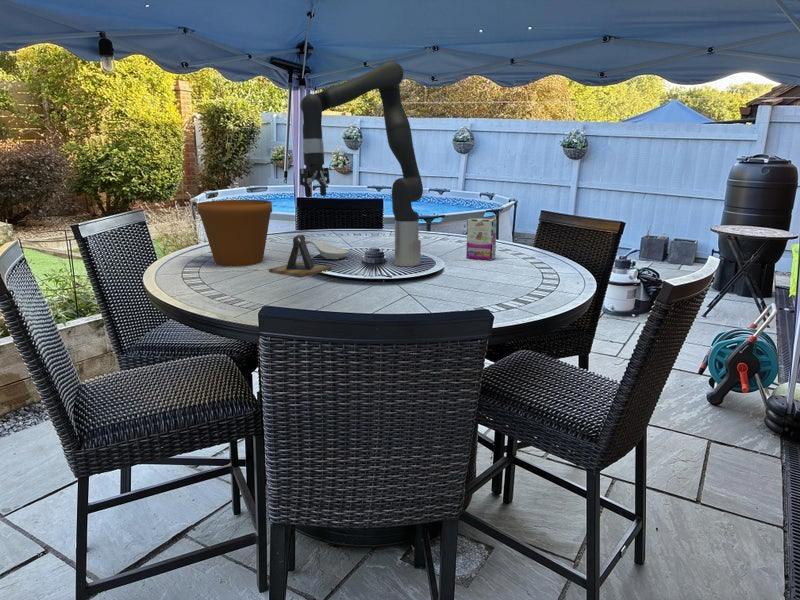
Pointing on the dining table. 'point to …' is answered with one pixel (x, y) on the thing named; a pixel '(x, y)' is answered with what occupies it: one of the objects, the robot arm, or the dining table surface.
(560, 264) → the dining table surface
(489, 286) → the dining table surface
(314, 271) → the walnut board
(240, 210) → the flowerpot
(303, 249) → the phone stand
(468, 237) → the candy bar box
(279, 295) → the dining table surface
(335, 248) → the spoon rest
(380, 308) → the dining table surface
